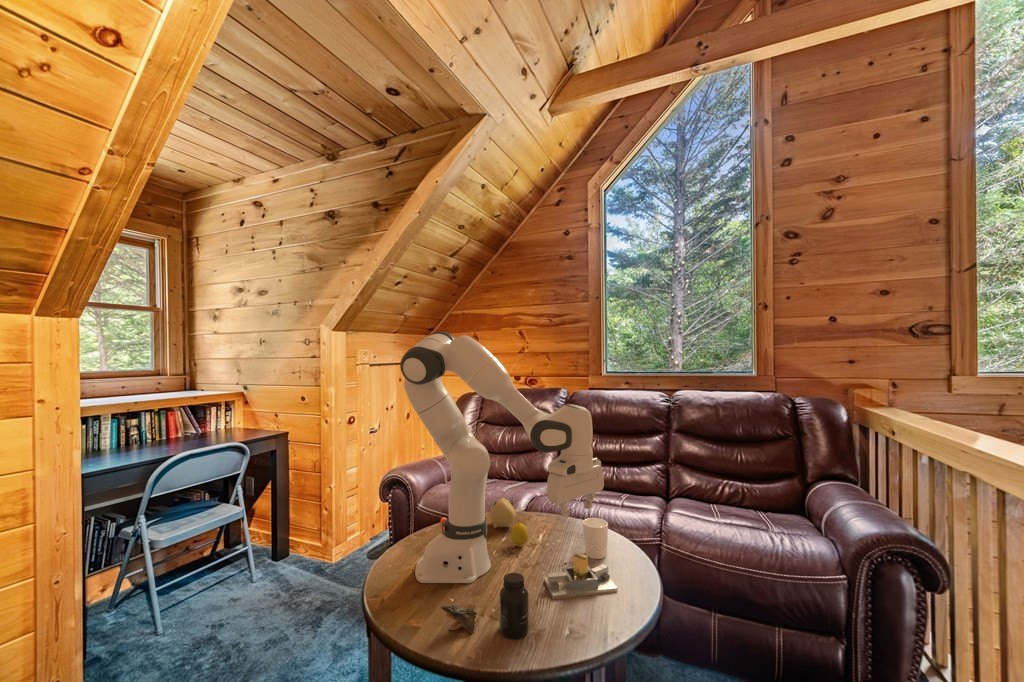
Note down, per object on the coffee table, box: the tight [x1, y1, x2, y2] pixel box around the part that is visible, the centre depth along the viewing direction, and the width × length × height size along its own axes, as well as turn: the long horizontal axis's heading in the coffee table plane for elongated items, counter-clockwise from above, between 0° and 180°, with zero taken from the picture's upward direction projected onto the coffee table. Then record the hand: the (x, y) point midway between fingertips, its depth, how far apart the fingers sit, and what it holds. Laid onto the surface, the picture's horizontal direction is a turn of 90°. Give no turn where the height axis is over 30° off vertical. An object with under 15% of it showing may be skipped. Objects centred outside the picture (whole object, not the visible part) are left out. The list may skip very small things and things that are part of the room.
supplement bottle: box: [498, 572, 530, 640], centre depth 97 cm, size 7×7×12 cm
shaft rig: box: [543, 563, 618, 600], centre depth 115 cm, size 18×9×4 cm, turn 100°
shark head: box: [440, 605, 478, 635], centre depth 97 cm, size 8×6×7 cm
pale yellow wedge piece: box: [488, 497, 517, 529], centre depth 155 cm, size 10×12×11 cm
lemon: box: [510, 521, 529, 547], centre depth 139 cm, size 6×6×8 cm
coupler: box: [572, 553, 589, 580], centre depth 114 cm, size 4×4×7 cm
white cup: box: [582, 517, 609, 560], centre depth 133 cm, size 8×8×10 cm
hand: (577, 512), depth 116 cm, fingers open, 8 cm apart
